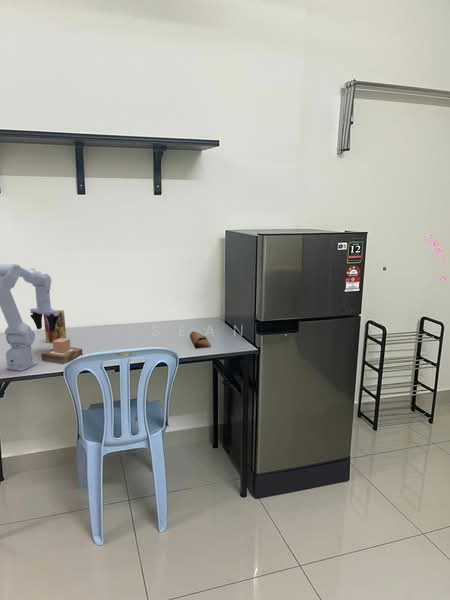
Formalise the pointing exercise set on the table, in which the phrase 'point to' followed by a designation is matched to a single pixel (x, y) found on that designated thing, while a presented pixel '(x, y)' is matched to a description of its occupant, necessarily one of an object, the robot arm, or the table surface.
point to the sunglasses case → (199, 340)
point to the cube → (61, 345)
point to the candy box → (59, 328)
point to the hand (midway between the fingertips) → (45, 329)
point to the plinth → (61, 355)
